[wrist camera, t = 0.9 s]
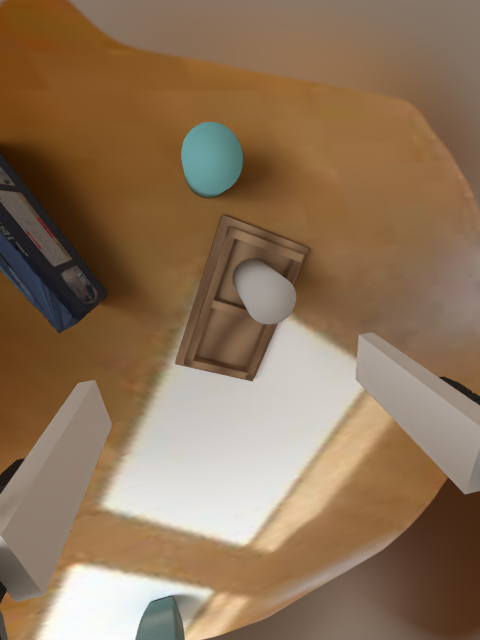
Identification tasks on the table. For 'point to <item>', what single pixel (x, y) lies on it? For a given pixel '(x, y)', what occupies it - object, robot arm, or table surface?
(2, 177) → the vhs cassette tape
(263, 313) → the white cylinder
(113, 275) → the table surface
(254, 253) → the rack
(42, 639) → the table surface
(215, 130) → the teal rounded cylinder
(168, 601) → the flower pot
